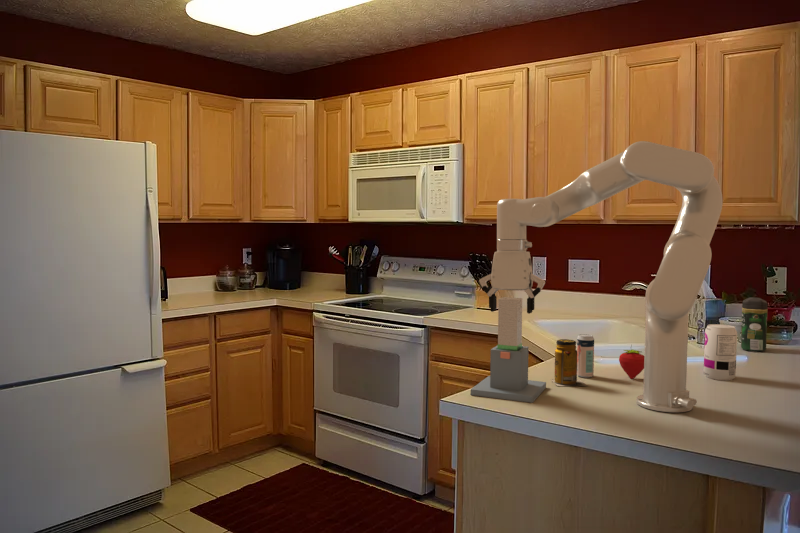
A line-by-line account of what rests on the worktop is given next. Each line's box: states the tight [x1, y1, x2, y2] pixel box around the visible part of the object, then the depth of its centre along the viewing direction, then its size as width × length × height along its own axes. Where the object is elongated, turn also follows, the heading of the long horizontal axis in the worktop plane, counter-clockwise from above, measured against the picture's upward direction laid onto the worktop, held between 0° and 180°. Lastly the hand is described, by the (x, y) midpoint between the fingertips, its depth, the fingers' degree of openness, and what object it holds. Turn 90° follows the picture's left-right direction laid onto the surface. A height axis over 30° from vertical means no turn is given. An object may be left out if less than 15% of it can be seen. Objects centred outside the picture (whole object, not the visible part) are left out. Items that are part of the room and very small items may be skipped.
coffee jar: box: [740, 296, 768, 353], centre depth 217 cm, size 10×8×19 cm
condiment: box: [550, 338, 588, 387], centre depth 170 cm, size 7×8×12 cm
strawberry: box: [618, 344, 644, 380], centre depth 175 cm, size 6×8×10 cm
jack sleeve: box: [470, 345, 547, 404], centre depth 161 cm, size 16×16×12 cm
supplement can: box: [703, 323, 738, 381], centre depth 177 cm, size 8×8×15 cm
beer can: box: [576, 333, 595, 379], centre depth 178 cm, size 5×5×12 cm
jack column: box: [496, 296, 523, 351], centre depth 161 cm, size 5×5×17 cm
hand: (511, 311), depth 160 cm, fingers open, 9 cm apart
